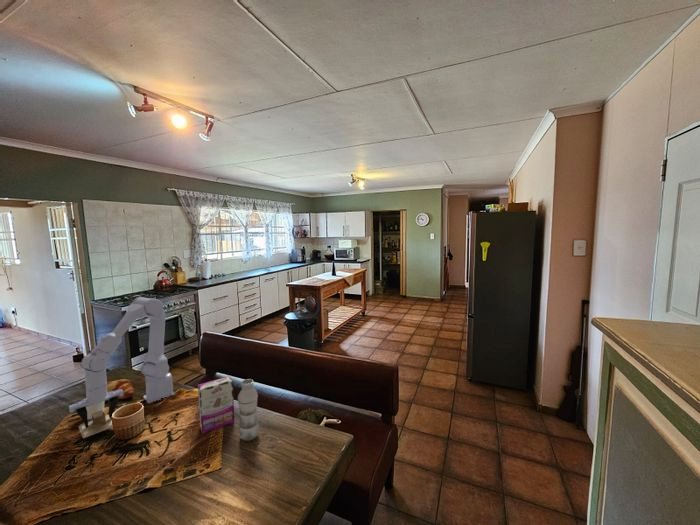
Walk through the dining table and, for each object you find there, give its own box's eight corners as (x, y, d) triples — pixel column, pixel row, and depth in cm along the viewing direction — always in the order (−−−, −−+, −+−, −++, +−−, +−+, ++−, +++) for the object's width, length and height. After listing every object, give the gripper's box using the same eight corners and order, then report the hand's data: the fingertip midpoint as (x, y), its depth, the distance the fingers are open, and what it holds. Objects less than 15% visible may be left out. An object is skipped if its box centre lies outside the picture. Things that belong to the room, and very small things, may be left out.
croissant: (96, 400, 127) (84, 389, 123) (117, 381, 135) (107, 370, 131) (127, 409, 120) (115, 397, 116) (147, 388, 128) (138, 376, 124)
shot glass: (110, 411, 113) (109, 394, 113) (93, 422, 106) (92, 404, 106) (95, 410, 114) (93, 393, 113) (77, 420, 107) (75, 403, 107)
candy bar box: (231, 416, 110) (230, 375, 109) (234, 422, 106) (233, 380, 105) (199, 427, 104) (197, 383, 102) (201, 434, 100) (199, 389, 98)
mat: (113, 414, 111) (113, 413, 111) (119, 424, 105) (119, 423, 105) (78, 427, 103) (78, 426, 103) (83, 439, 97) (83, 438, 97)
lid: (112, 414, 110) (111, 404, 110) (117, 424, 105) (117, 413, 104) (80, 426, 104) (79, 415, 103) (84, 436, 98) (83, 425, 97)
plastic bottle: (253, 445, 95) (251, 387, 93) (234, 442, 96) (233, 385, 94) (262, 432, 101) (261, 378, 99) (245, 429, 102) (244, 376, 101)
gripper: (119, 375, 111) (121, 408, 112) (67, 390, 100) (69, 427, 101) (123, 381, 107) (125, 415, 108) (69, 397, 95) (72, 435, 96)
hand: (99, 421), depth 104 cm, fingers open, 6 cm apart
